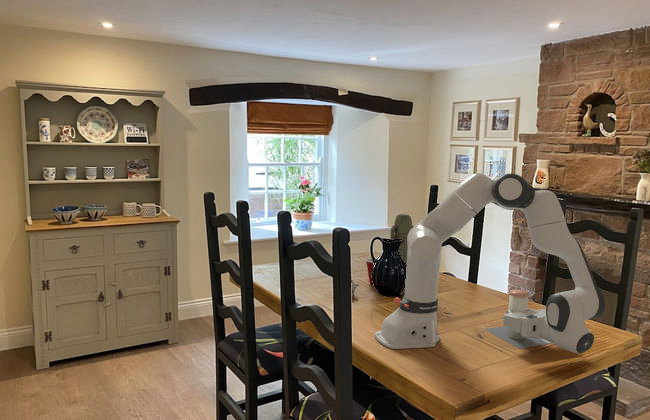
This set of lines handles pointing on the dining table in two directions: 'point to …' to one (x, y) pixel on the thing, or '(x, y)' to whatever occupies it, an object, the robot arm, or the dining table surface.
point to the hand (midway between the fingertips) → (515, 311)
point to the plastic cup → (369, 269)
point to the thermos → (402, 235)
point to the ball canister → (517, 308)
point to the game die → (353, 286)
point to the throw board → (518, 343)
